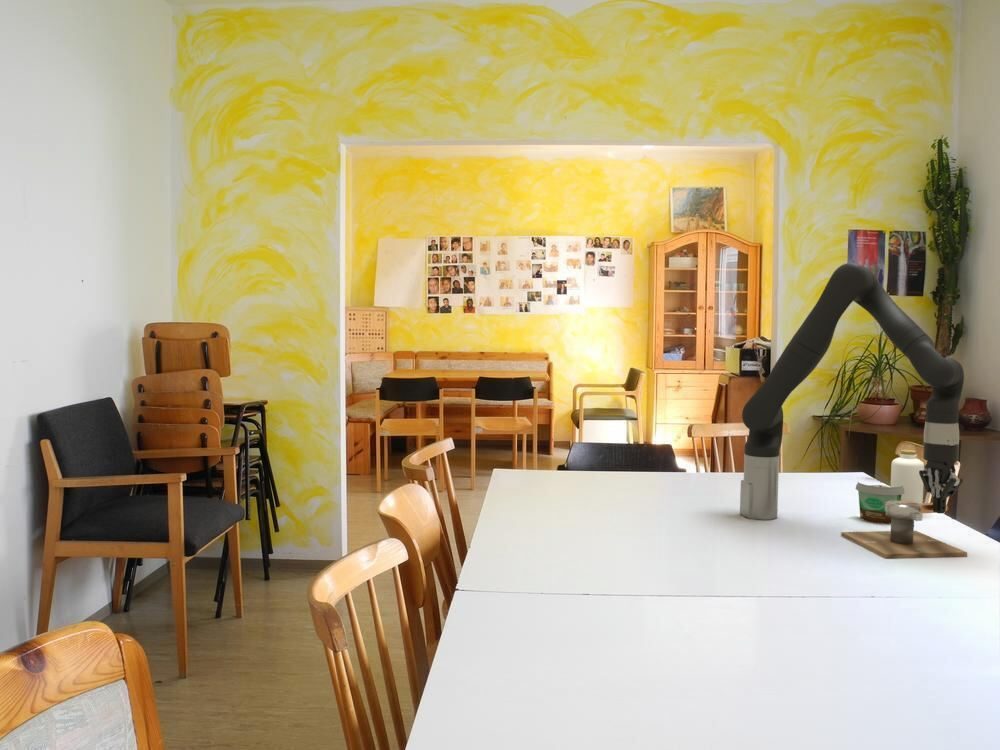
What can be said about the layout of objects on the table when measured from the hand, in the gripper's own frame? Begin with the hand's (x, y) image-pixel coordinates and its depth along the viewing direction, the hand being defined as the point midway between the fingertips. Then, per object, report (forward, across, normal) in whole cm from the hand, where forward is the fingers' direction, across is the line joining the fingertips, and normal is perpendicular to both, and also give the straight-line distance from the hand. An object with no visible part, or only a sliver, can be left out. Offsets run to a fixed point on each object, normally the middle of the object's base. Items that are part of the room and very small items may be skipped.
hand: (939, 512), depth 202 cm
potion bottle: (+8, -33, +14) cm, 37 cm away
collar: (+1, -3, -4) cm, 5 cm away
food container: (+8, -26, +1) cm, 27 cm away
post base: (+8, -2, -8) cm, 12 cm away
